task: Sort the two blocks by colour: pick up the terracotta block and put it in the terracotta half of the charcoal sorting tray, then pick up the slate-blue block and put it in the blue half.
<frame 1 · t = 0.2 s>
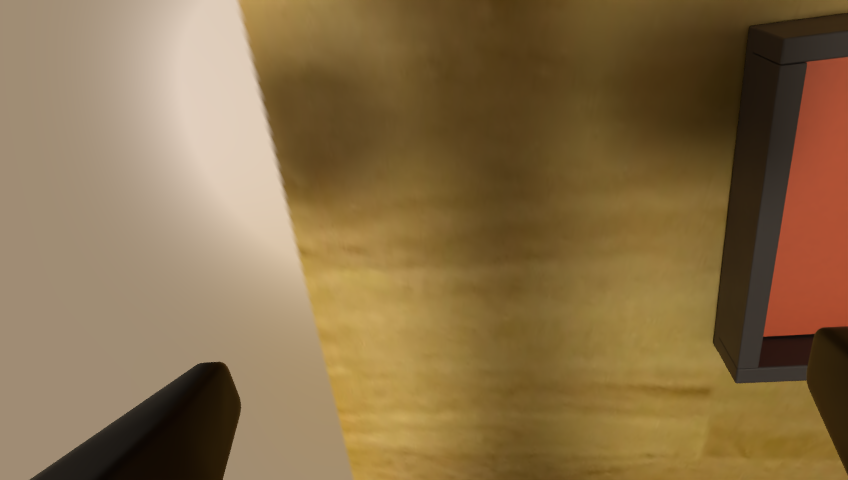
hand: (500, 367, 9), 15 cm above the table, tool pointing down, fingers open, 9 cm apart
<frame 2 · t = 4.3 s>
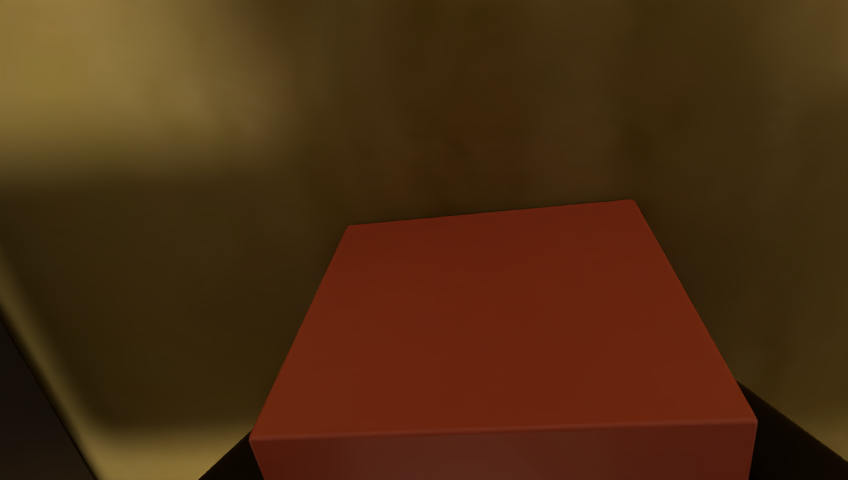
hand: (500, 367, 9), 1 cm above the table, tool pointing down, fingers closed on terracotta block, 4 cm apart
terracotta block: (497, 327, 10), on the table, touching gripper
when the fingers open (2 cm above the table, at t = 9.7 s): terracotta block stays where it is, resting on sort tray.
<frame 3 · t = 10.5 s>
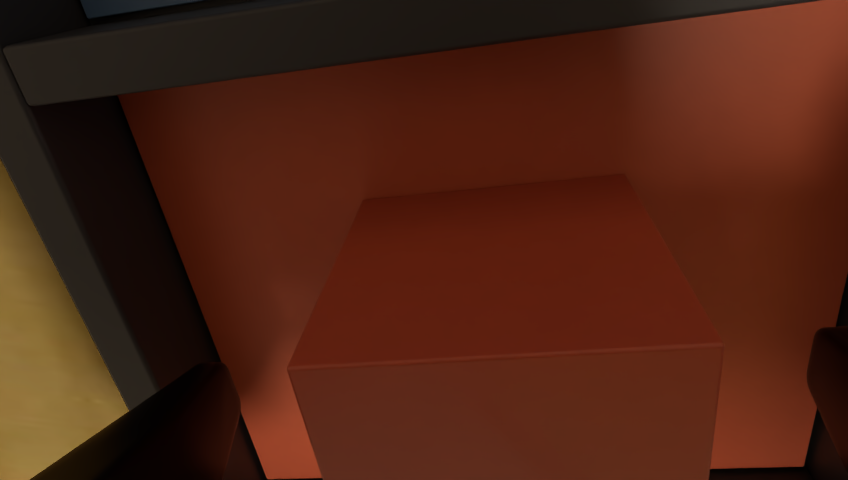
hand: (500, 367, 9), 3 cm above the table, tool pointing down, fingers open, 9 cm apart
terracotta block: (500, 295, 11), point 1 cm above the table, touching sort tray
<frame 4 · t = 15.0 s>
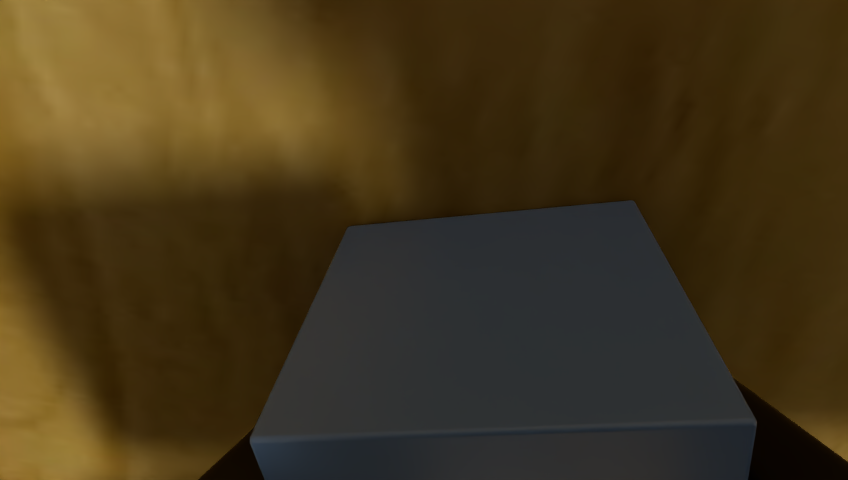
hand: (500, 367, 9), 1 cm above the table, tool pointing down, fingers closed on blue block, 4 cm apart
blue block: (497, 328, 10), on the table, touching gripper
when the fingers open (2 cm above the table, at t = 21.6 s): blue block stays where it is, resting on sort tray.
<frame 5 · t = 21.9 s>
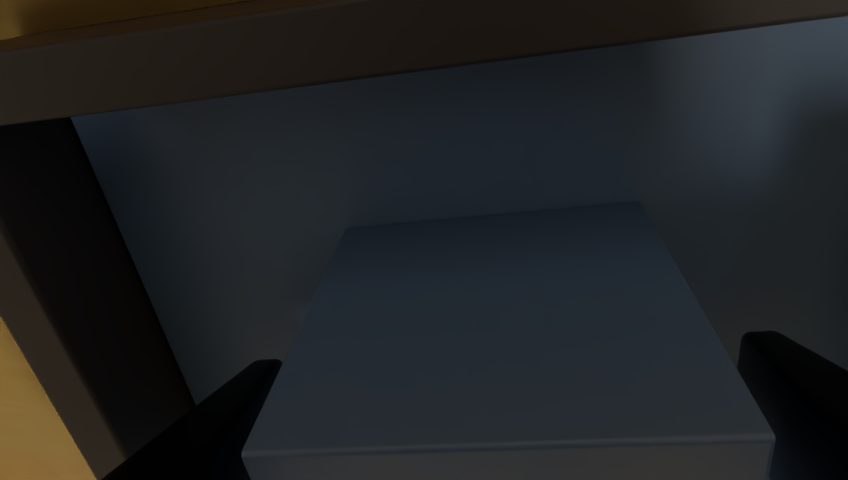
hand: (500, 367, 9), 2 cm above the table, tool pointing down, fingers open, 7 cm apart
blue block: (499, 332, 10), point 1 cm above the table, touching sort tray
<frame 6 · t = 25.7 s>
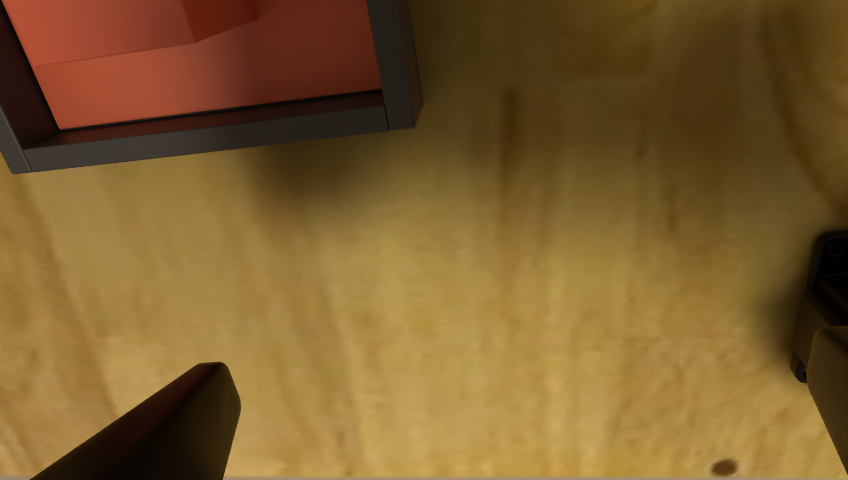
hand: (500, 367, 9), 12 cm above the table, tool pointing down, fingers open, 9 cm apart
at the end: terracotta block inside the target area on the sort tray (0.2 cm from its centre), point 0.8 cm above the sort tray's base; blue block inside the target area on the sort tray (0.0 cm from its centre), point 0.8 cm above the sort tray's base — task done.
